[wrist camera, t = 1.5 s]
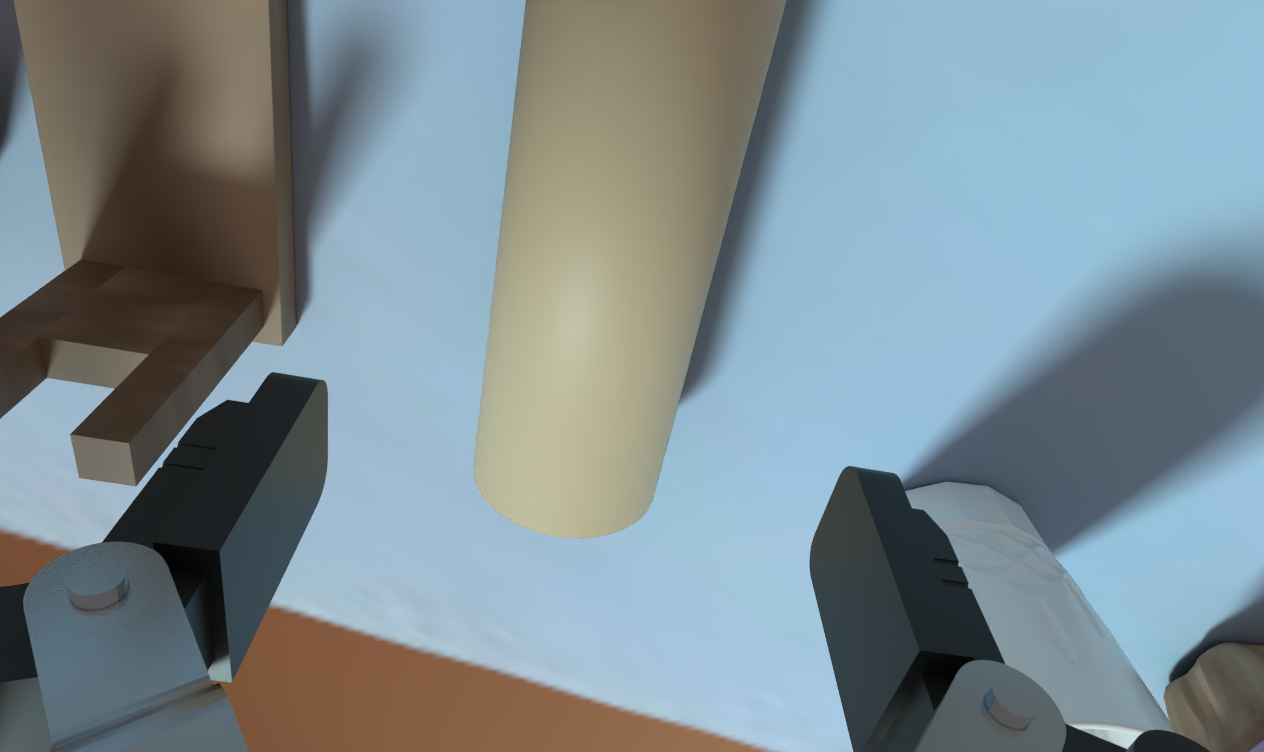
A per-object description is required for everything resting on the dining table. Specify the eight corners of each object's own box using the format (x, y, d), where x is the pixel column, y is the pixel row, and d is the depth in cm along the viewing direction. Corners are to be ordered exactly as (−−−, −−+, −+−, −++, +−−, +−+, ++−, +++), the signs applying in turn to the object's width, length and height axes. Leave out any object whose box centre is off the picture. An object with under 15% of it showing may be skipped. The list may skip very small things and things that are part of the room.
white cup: (830, 474, 29) (908, 732, 20) (1064, 458, 28) (1244, 716, 20) (825, 628, 33) (887, 897, 24) (1029, 617, 32) (1164, 887, 24)
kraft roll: (814, -190, 19) (868, -204, 14) (644, 475, 29) (642, 595, 24) (568, -248, 18) (540, -283, 14) (484, 449, 29) (451, 567, 24)
